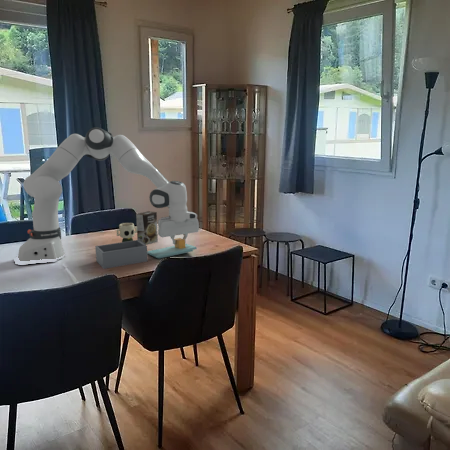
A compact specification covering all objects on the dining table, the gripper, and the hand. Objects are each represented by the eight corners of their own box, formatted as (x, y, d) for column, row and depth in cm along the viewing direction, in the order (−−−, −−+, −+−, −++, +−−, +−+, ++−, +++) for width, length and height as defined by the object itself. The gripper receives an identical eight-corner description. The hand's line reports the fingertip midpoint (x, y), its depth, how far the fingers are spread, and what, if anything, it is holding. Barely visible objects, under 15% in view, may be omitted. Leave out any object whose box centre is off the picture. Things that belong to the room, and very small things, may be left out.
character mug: (121, 253, 215) (119, 227, 212) (114, 250, 221) (113, 224, 218) (141, 249, 222) (139, 224, 219) (134, 246, 227) (133, 221, 224)
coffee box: (145, 245, 228) (144, 215, 224) (137, 243, 232) (135, 213, 228) (158, 241, 235) (157, 212, 232) (150, 239, 239) (148, 210, 235)
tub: (103, 270, 191) (102, 252, 189) (96, 263, 201) (95, 246, 199) (147, 262, 201) (146, 245, 199) (138, 256, 211) (137, 239, 209)
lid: (156, 259, 202) (155, 246, 201) (147, 255, 212) (145, 243, 211) (196, 251, 211) (195, 238, 210) (186, 247, 222) (184, 235, 221)
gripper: (160, 219, 203) (161, 248, 206) (200, 214, 213) (200, 241, 216) (155, 216, 208) (156, 244, 211) (194, 211, 218) (195, 238, 221)
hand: (179, 243), depth 214 cm, fingers closed on lid, 3 cm apart
